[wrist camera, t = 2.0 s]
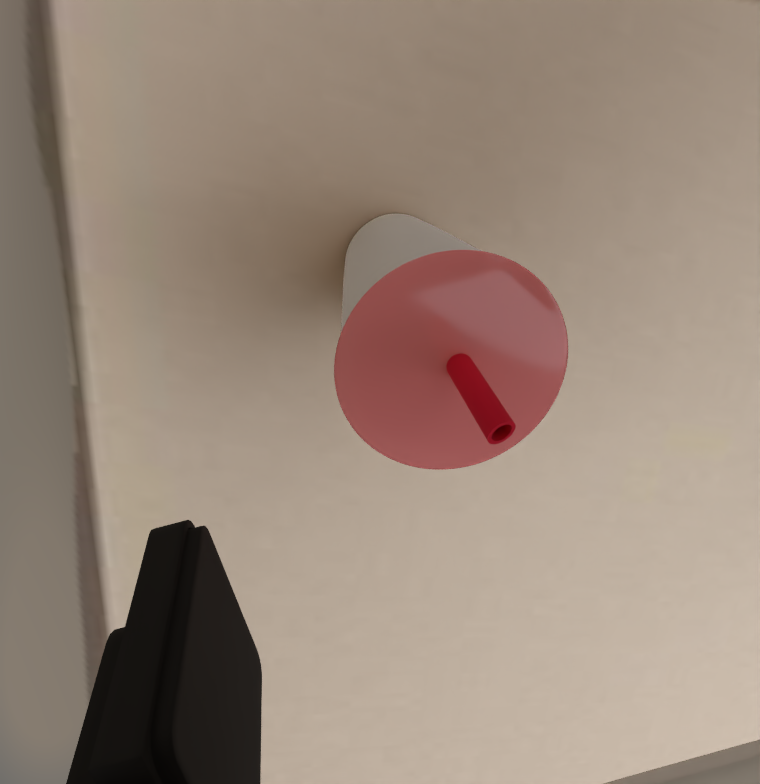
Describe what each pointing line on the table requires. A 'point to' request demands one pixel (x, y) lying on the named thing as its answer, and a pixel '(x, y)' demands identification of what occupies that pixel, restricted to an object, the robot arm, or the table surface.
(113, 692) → the robot arm
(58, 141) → the table surface
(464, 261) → the cup
